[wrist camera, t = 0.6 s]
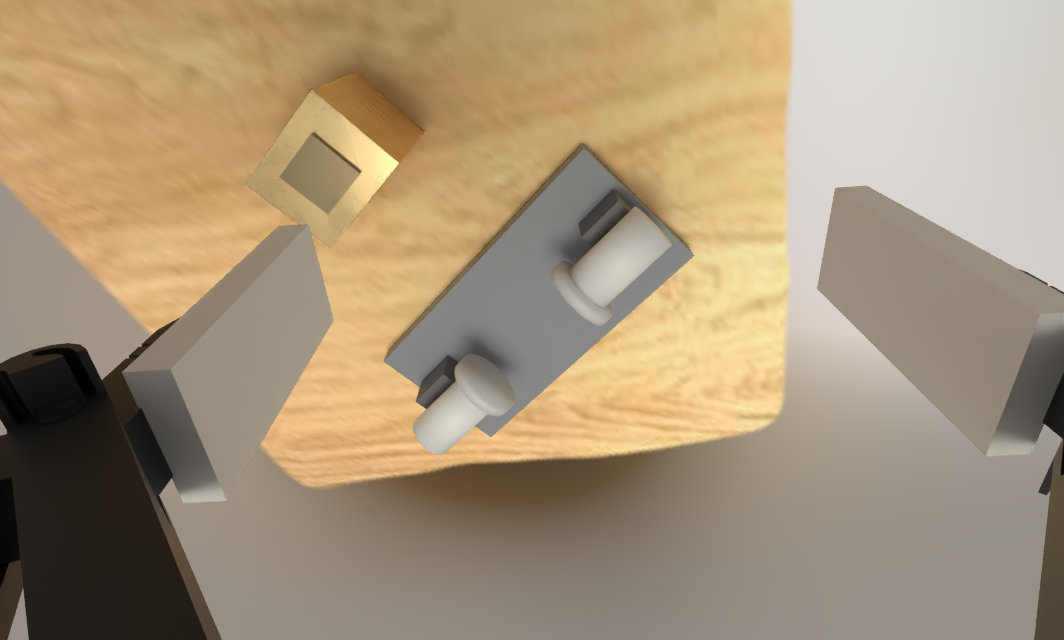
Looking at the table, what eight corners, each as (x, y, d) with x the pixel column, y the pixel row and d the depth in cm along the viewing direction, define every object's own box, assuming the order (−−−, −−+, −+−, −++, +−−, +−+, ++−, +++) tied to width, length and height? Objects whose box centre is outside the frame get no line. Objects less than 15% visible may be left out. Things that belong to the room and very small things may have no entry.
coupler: (300, 149, 37) (242, 185, 29) (356, 72, 34) (309, 90, 27) (367, 203, 38) (328, 250, 31) (424, 132, 36) (397, 164, 29)
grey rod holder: (388, 350, 43) (361, 415, 36) (582, 143, 36) (594, 175, 30) (492, 424, 46) (485, 496, 40) (688, 247, 40) (721, 297, 33)
